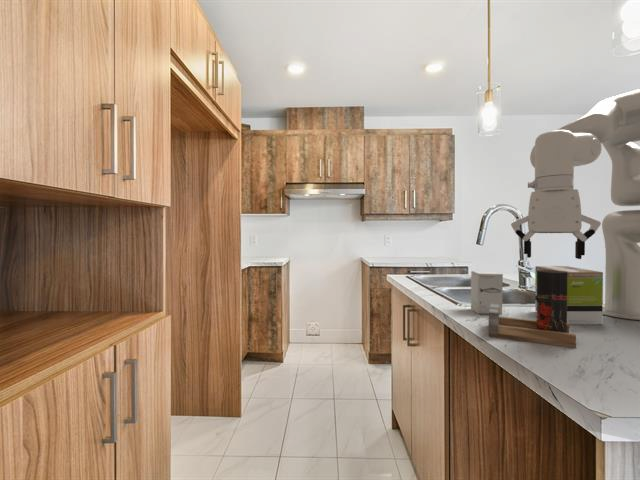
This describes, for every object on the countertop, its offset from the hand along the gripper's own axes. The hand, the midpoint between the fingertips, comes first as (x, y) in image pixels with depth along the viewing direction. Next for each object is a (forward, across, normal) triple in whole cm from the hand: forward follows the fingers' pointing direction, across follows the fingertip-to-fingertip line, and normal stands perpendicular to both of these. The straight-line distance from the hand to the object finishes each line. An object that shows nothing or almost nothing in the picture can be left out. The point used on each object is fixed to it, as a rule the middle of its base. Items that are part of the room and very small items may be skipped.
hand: (552, 257), depth 79 cm
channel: (+19, -5, 0) cm, 20 cm away
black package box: (+18, 0, 0) cm, 19 cm away
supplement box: (+19, -15, +22) cm, 33 cm away
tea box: (+20, +6, +25) cm, 32 cm away
